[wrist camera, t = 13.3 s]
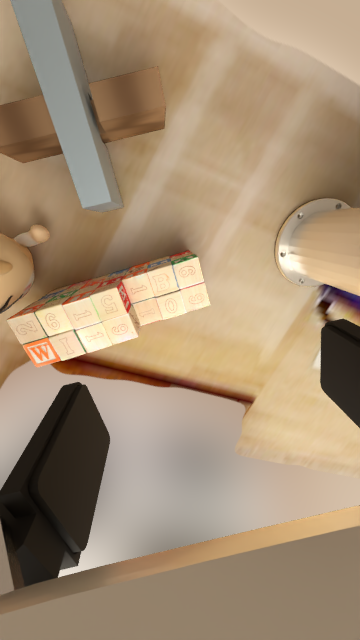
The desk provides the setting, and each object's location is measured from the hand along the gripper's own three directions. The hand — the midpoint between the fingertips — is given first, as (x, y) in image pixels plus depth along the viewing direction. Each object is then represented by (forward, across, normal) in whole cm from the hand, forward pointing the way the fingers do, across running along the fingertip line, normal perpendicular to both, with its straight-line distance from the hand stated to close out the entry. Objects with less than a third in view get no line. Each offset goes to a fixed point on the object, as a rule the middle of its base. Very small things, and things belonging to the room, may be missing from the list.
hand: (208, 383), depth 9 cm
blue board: (+28, +6, -18) cm, 34 cm away
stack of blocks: (+29, +7, +2) cm, 30 cm away
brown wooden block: (+28, +6, -18) cm, 34 cm away
